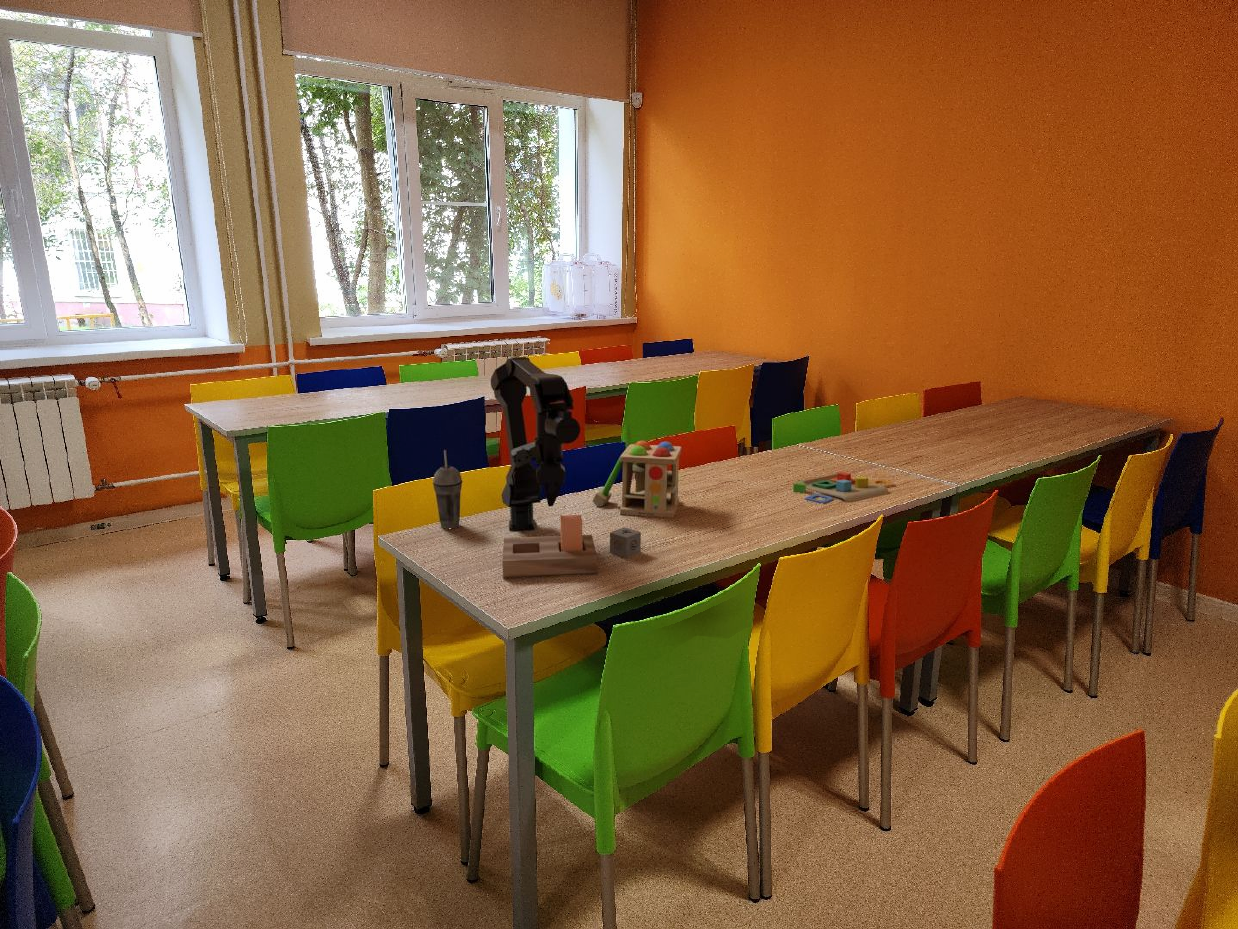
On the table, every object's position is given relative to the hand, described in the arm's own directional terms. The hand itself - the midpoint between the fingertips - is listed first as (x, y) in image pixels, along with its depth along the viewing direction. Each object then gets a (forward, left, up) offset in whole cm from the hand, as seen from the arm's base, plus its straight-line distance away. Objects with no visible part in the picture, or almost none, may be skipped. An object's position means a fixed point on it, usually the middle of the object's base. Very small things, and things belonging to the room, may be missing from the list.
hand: (549, 499), depth 181 cm
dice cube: (+4, +17, -13) cm, 21 cm away
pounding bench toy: (-29, +24, -13) cm, 40 cm away
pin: (+9, +4, -12) cm, 15 cm away
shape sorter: (-39, +86, -13) cm, 96 cm away
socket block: (+9, -1, -12) cm, 15 cm away
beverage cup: (-19, -25, -13) cm, 34 cm away
